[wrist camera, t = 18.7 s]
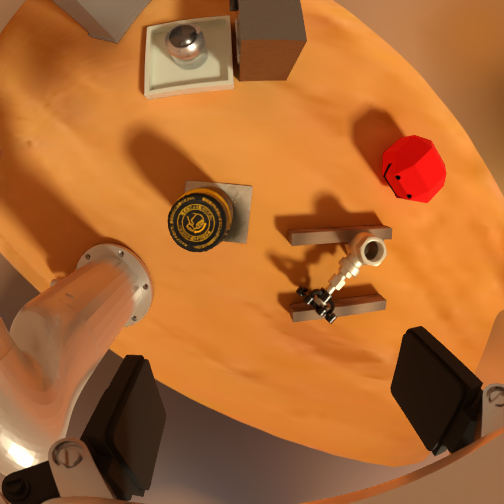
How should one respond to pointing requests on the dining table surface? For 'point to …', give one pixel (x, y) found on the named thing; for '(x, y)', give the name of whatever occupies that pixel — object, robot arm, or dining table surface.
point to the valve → (346, 271)
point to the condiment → (210, 215)
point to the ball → (414, 169)
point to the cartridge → (187, 46)
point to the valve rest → (336, 236)
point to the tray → (189, 81)
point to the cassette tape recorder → (104, 16)
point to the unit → (268, 37)
